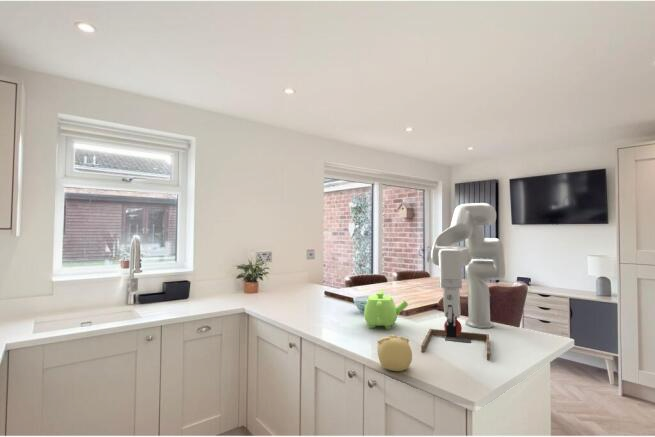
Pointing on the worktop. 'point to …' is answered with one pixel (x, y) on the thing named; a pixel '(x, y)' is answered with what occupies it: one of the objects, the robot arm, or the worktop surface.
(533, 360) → the worktop surface
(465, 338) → the wooden u-shaped frame
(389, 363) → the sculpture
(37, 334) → the worktop surface
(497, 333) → the worktop surface
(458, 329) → the onion
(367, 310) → the teapot
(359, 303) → the chinaware
